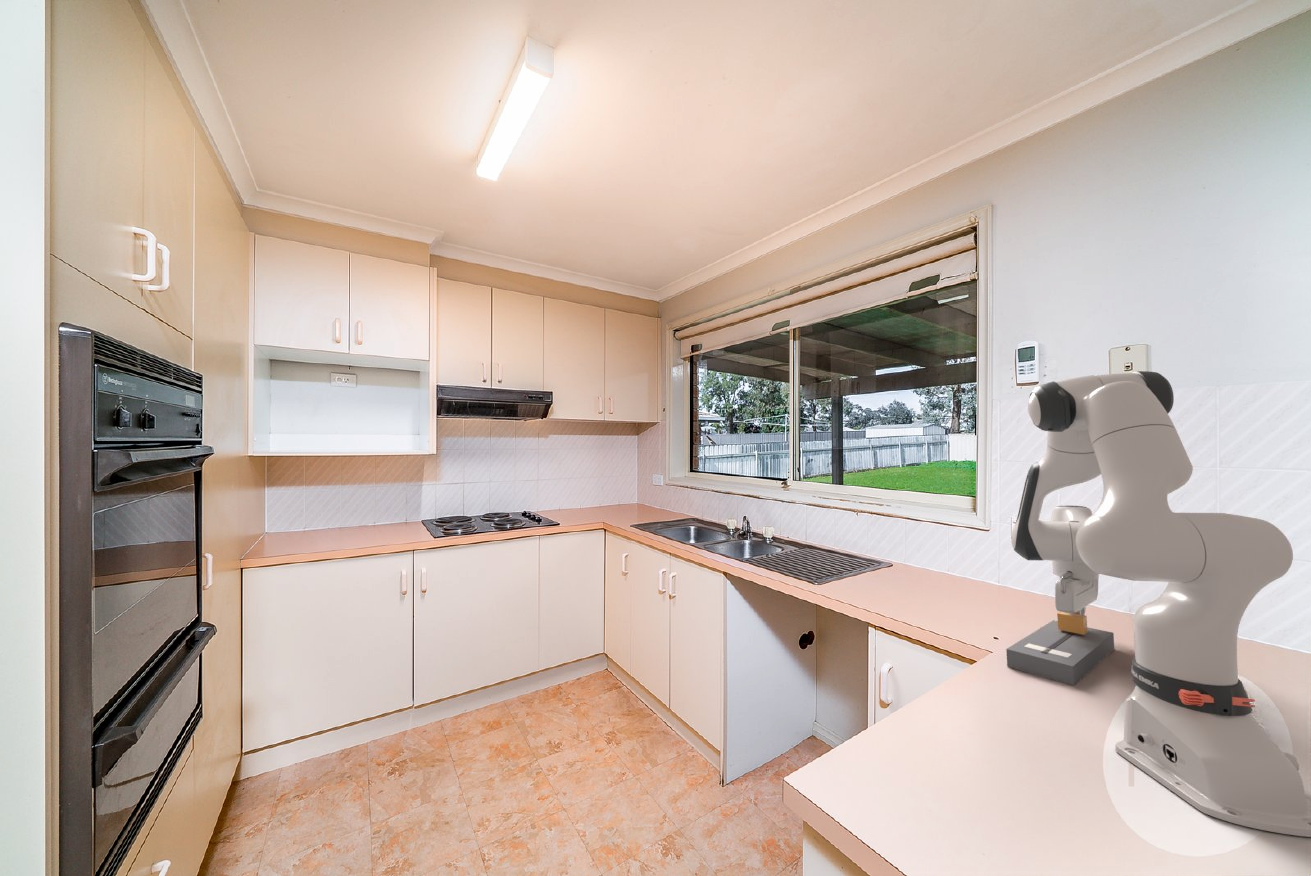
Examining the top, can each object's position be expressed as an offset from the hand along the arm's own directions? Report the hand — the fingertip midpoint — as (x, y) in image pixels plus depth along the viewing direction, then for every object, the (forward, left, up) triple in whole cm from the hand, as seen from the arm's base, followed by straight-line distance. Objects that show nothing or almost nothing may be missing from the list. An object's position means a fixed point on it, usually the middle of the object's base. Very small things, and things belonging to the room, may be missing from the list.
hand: (1078, 624), depth 123 cm
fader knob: (-3, +2, -1) cm, 4 cm away
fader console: (-9, +8, -5) cm, 13 cm away
